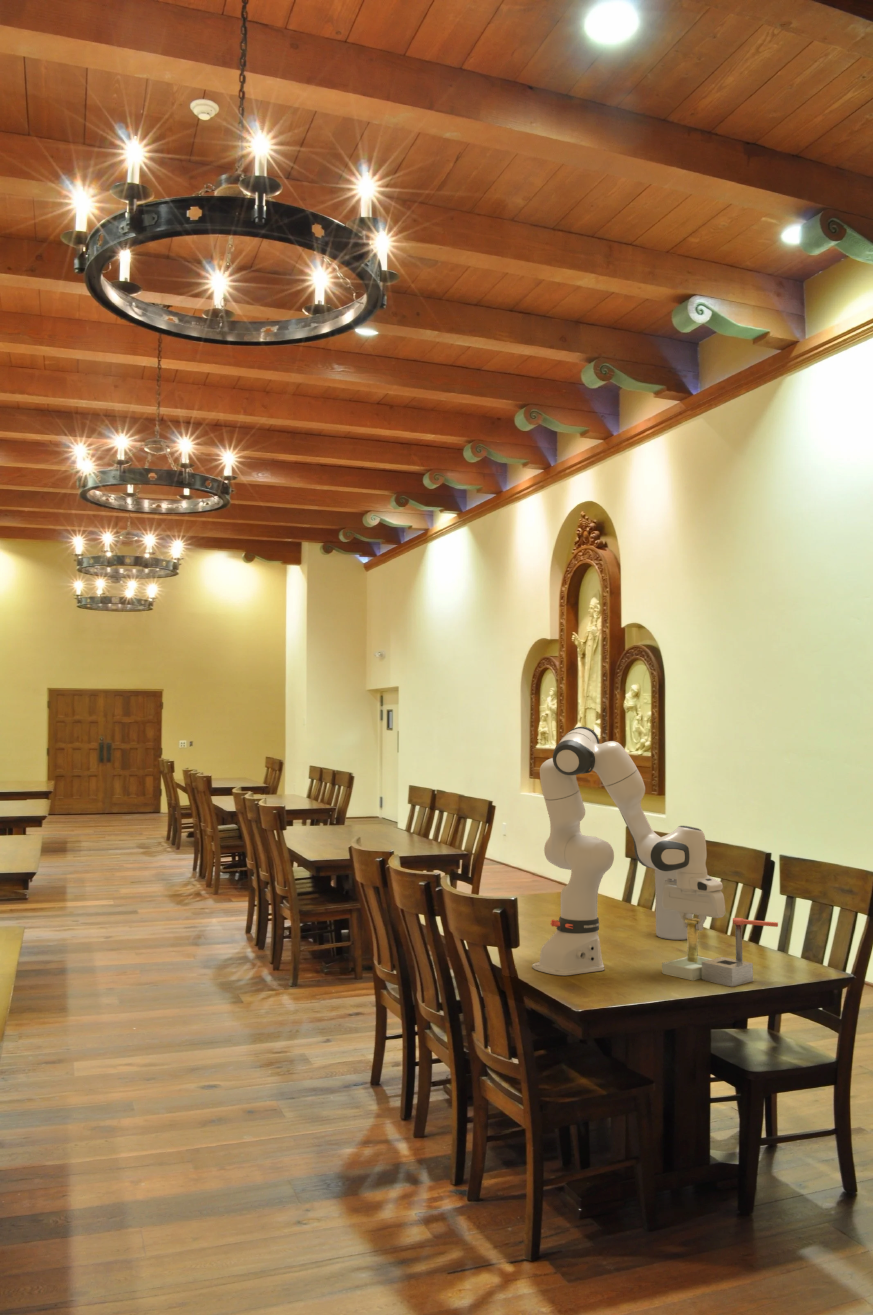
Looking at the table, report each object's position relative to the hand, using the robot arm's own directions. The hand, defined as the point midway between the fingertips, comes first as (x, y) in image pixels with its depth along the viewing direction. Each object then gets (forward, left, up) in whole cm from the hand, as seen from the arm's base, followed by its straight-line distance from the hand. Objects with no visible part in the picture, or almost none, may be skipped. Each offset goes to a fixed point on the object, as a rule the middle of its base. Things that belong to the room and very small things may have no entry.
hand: (693, 929), depth 285 cm
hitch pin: (-1, 0, -9) cm, 9 cm away
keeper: (+8, -16, +2) cm, 18 cm away
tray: (0, 0, -13) cm, 13 cm away
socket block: (+1, -11, -13) cm, 17 cm away
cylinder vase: (+38, +36, -13) cm, 54 cm away
